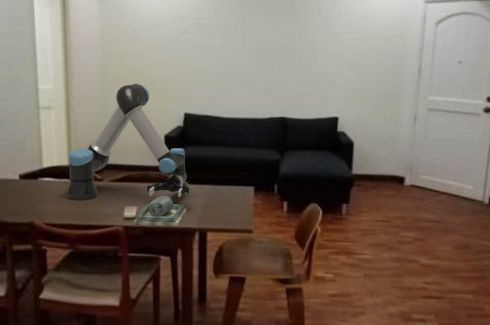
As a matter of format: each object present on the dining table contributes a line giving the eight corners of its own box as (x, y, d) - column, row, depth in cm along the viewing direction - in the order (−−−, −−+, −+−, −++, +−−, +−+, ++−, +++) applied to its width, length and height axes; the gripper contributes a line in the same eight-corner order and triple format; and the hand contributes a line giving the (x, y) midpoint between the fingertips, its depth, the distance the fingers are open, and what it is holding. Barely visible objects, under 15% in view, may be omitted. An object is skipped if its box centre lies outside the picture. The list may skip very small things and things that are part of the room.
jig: (134, 224, 238) (133, 216, 237) (146, 210, 260) (146, 203, 259) (177, 226, 237) (177, 218, 236) (186, 211, 258) (186, 204, 258)
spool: (163, 213, 238) (157, 192, 240) (146, 220, 242) (141, 199, 244) (181, 213, 250) (175, 193, 252) (164, 220, 254) (159, 200, 256)
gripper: (198, 191, 274) (191, 202, 253) (149, 189, 276) (138, 200, 255) (198, 176, 272) (191, 186, 252) (149, 174, 274) (137, 184, 253)
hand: (164, 193), depth 253 cm, fingers open, 13 cm apart
